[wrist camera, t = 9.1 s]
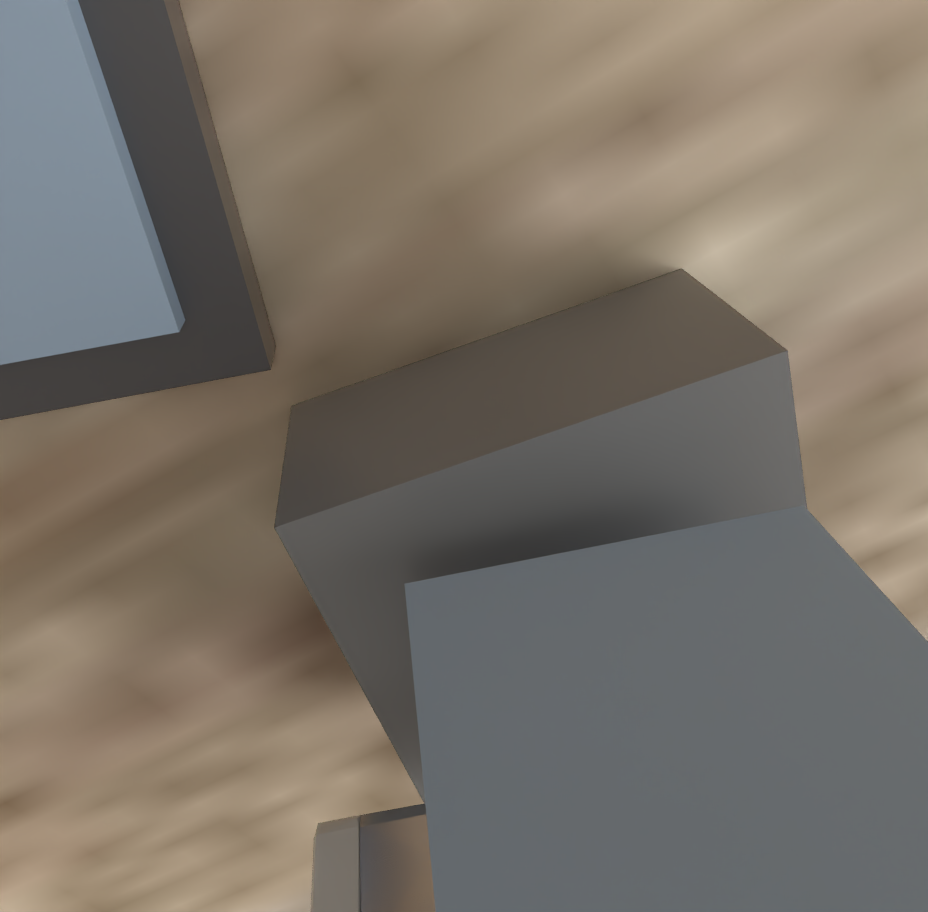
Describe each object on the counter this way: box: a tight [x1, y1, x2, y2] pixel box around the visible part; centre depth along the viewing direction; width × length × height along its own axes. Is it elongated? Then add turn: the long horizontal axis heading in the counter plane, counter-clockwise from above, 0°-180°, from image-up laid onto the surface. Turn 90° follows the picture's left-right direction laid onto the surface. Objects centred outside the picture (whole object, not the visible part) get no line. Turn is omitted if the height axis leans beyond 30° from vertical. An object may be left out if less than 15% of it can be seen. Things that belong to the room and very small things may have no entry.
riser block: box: [274, 269, 807, 804], centre depth 14 cm, size 7×7×4 cm
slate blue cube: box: [404, 505, 928, 912], centre depth 9 cm, size 5×5×5 cm
